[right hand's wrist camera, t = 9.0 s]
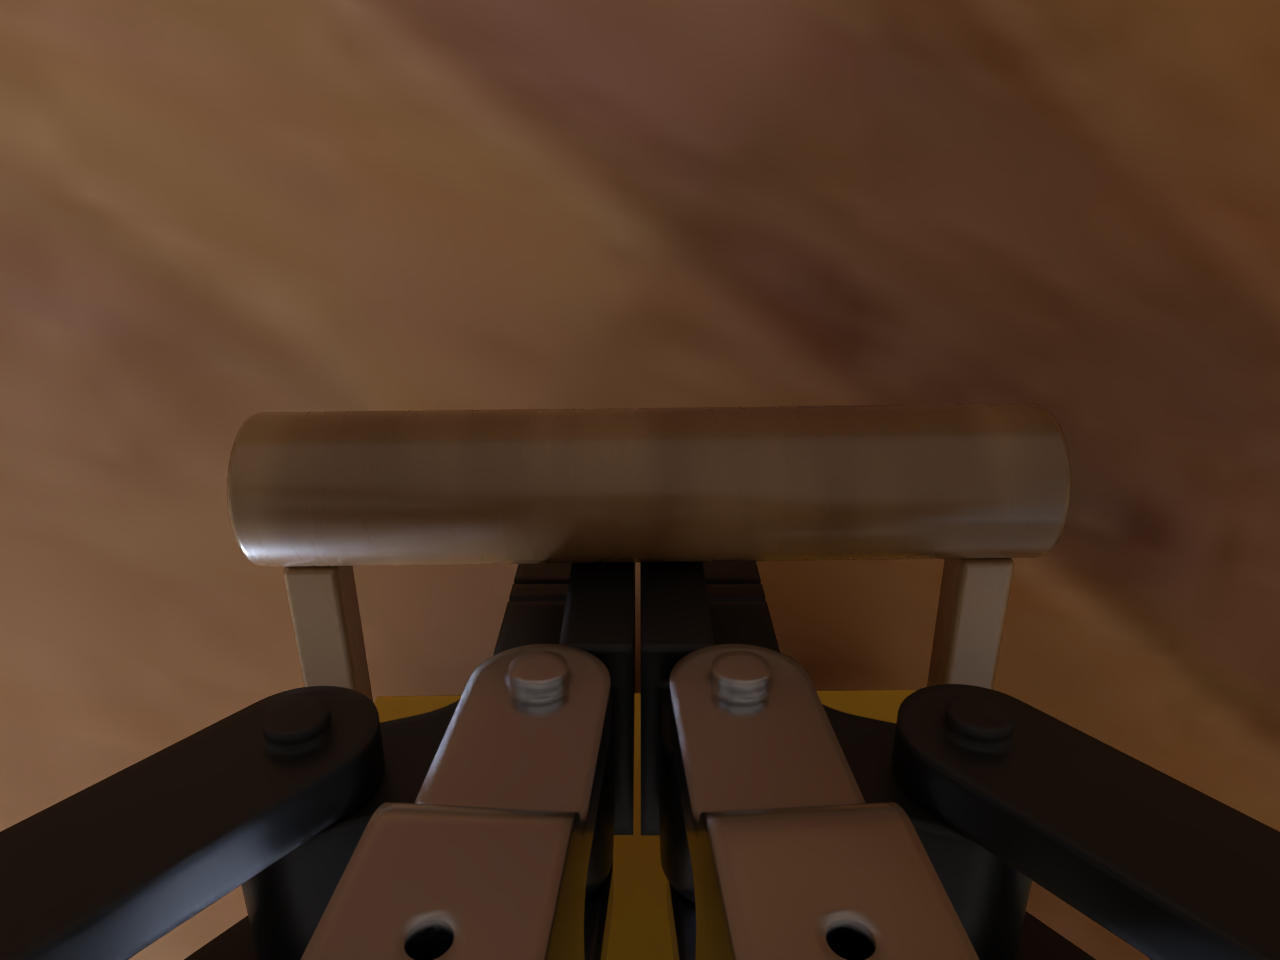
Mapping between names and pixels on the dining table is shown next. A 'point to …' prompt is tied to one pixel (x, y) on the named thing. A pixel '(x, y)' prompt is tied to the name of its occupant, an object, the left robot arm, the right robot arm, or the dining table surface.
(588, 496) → the drawer
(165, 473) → the dining table surface
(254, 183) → the dining table surface
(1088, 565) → the dining table surface
